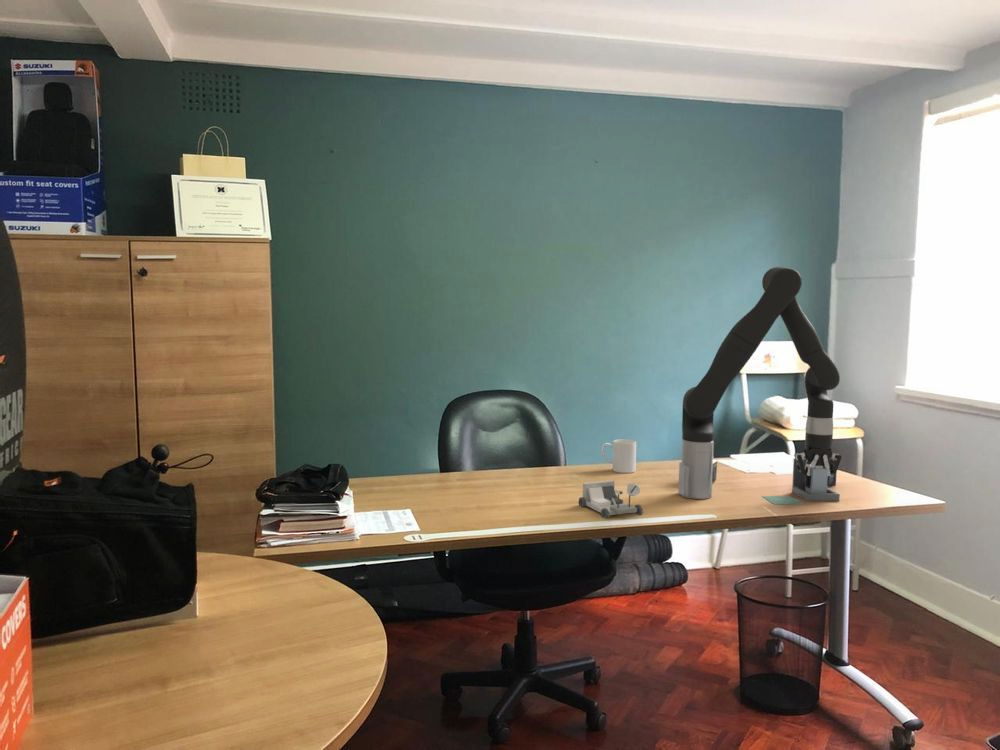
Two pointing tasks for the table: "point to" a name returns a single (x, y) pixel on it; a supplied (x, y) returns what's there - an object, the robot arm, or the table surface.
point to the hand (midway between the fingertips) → (816, 487)
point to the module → (818, 480)
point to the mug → (623, 455)
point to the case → (799, 490)
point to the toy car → (608, 498)
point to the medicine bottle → (714, 469)
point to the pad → (782, 500)
